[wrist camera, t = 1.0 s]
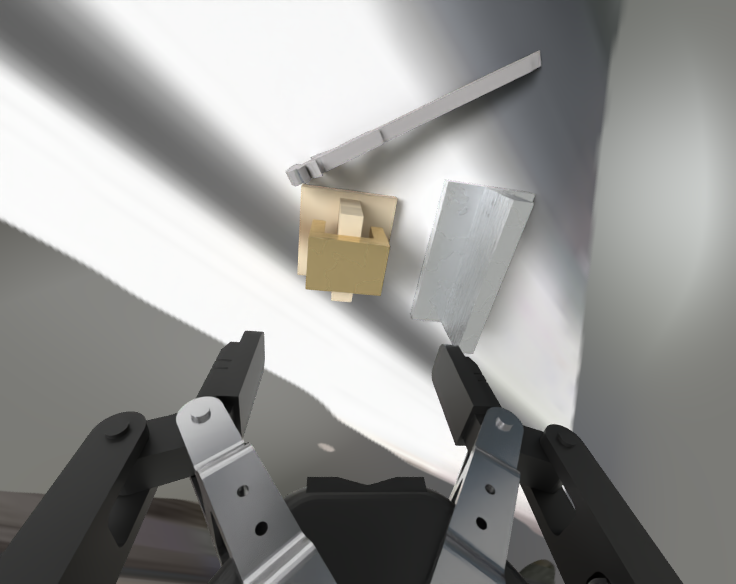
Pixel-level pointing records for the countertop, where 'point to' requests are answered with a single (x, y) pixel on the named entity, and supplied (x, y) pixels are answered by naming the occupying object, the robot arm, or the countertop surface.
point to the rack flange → (469, 257)
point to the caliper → (410, 121)
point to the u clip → (346, 261)
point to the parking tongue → (342, 218)
